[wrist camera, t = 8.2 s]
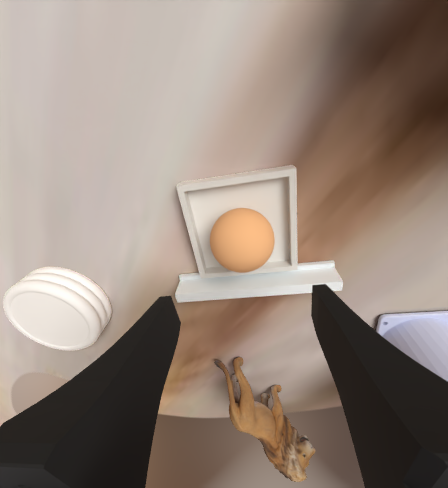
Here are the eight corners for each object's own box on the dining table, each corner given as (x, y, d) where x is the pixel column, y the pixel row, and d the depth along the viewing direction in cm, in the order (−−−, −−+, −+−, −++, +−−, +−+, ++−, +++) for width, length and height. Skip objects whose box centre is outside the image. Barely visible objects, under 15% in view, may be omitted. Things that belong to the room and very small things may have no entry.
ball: (272, 247, 21) (281, 282, 16) (218, 254, 21) (213, 289, 17) (267, 194, 18) (277, 219, 14) (207, 203, 19) (199, 229, 15)
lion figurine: (307, 393, 33) (328, 481, 25) (280, 406, 35) (291, 491, 27) (227, 347, 29) (221, 434, 21) (203, 366, 31) (189, 450, 23)
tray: (294, 262, 22) (297, 270, 20) (202, 270, 23) (200, 278, 22) (292, 164, 17) (296, 168, 16) (180, 182, 19) (175, 186, 17)
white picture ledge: (331, 277, 22) (341, 294, 20) (184, 289, 24) (178, 306, 22) (333, 260, 21) (343, 276, 19) (179, 274, 23) (173, 290, 21)
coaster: (115, 278, 25) (97, 301, 22) (112, 335, 30) (97, 361, 26) (20, 253, 24) (-12, 273, 21) (34, 316, 29) (9, 340, 26)
